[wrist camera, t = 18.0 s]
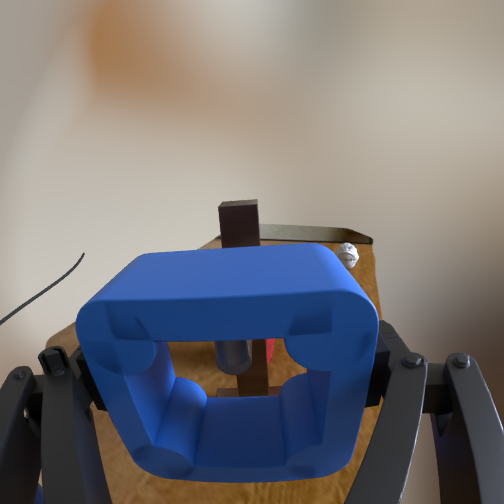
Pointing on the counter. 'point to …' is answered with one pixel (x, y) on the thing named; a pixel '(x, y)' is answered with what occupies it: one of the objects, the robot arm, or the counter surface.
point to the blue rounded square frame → (228, 329)
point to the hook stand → (242, 351)
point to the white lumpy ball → (347, 255)
